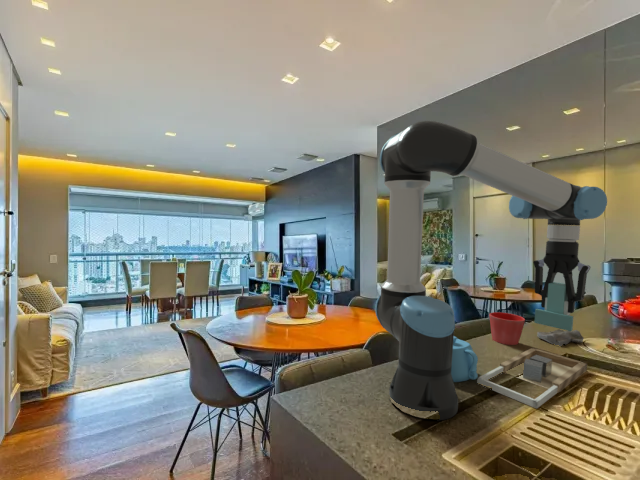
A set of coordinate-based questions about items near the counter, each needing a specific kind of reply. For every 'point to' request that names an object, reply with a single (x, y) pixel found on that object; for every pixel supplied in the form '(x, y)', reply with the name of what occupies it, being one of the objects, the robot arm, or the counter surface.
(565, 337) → the stone
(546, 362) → the block
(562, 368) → the slot board
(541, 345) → the counter surface
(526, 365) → the block
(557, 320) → the rake tool
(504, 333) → the flower pot
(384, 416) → the counter surface
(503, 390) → the tray
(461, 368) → the teapot
